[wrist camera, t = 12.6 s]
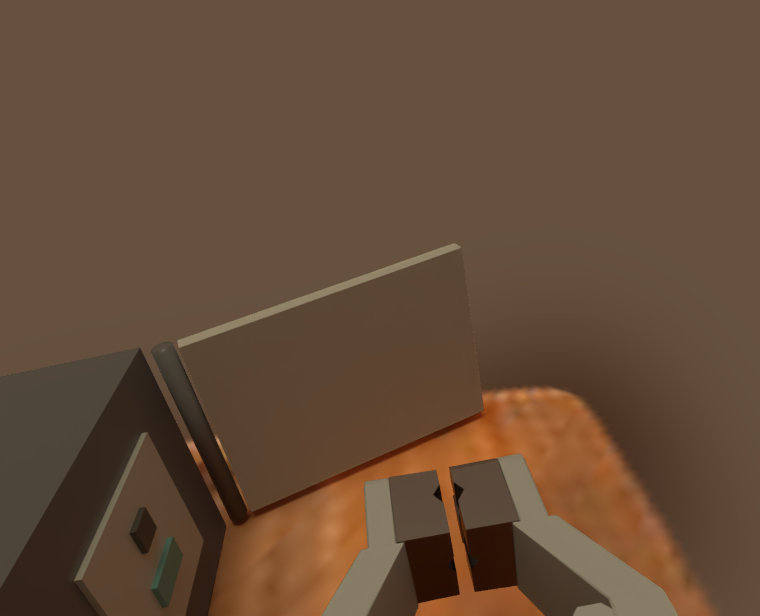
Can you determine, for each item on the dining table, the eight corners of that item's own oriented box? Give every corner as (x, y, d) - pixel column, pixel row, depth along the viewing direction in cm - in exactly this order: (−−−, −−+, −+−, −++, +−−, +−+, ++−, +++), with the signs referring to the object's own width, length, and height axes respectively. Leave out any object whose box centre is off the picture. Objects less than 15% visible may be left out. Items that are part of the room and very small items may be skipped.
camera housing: (150, 953, 17) (-83, 768, 11) (-178, 1010, 17) (-569, 859, 11) (240, 495, 33) (162, 323, 27) (68, 530, 33) (-44, 366, 27)
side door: (474, 401, 35) (450, 239, 30) (485, 412, 34) (462, 246, 29) (227, 507, 32) (150, 343, 26) (231, 524, 30) (151, 356, 25)
